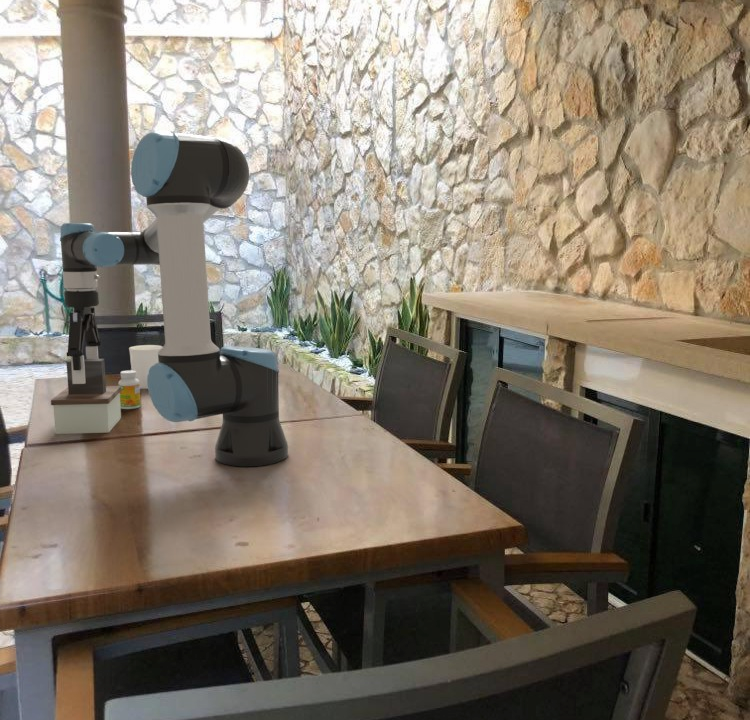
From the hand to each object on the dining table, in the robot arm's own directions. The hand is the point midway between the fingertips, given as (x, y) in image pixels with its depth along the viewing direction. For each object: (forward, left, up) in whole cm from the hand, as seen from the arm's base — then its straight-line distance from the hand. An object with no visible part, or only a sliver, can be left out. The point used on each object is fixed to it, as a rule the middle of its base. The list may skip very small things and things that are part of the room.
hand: (86, 377), depth 180 cm
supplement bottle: (+19, -6, -12) cm, 23 cm away
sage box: (0, 0, -12) cm, 12 cm away
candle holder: (+47, -6, -12) cm, 49 cm away
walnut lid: (0, 0, -5) cm, 5 cm away
